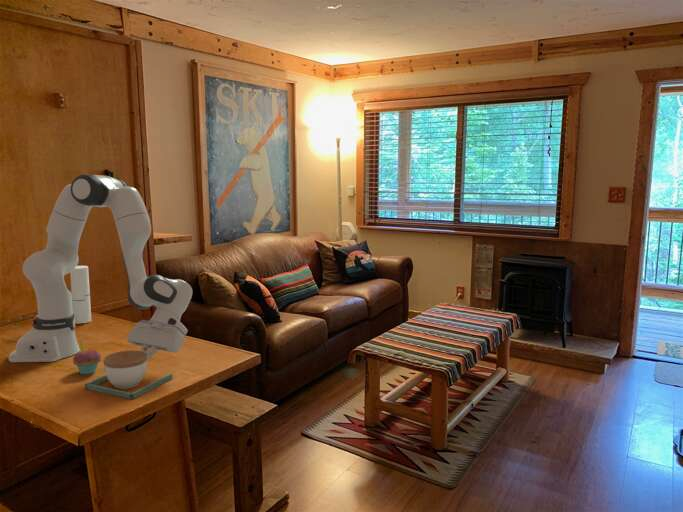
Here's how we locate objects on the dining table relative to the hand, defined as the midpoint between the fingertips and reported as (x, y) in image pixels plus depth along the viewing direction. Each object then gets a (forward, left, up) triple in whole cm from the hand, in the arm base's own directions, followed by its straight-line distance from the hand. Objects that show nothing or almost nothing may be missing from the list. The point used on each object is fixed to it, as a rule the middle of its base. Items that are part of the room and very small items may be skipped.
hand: (143, 359), depth 169 cm
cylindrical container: (-29, +71, -6) cm, 77 cm away
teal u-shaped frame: (-4, -5, -6) cm, 9 cm away
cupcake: (-18, +9, -6) cm, 21 cm away
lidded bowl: (-5, -6, -6) cm, 10 cm away
